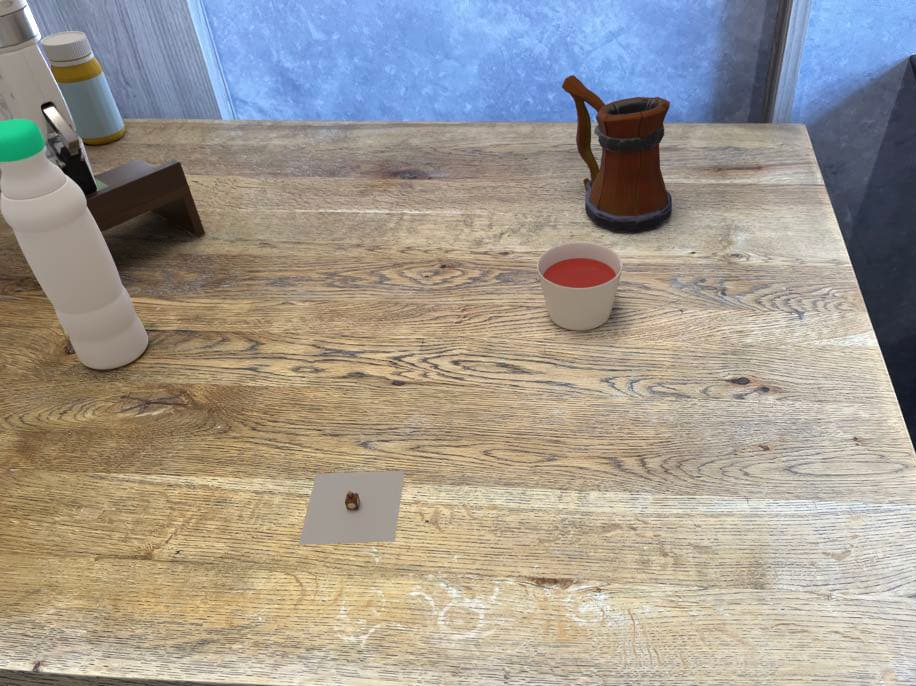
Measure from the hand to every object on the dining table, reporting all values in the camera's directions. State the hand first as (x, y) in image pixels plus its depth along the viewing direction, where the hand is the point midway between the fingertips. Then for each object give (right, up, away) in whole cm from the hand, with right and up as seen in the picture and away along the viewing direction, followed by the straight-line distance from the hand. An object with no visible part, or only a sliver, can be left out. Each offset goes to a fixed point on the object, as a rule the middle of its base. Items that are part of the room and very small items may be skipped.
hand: (67, 184), depth 97 cm
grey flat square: (+40, -35, -26) cm, 59 cm away
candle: (+60, -16, -6) cm, 63 cm away
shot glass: (0, -2, +2) cm, 2 cm away
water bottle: (+11, -21, -9) cm, 25 cm away
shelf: (+3, -6, +7) cm, 10 cm away
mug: (+66, 0, +12) cm, 67 cm away
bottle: (-13, +16, +33) cm, 39 cm away
